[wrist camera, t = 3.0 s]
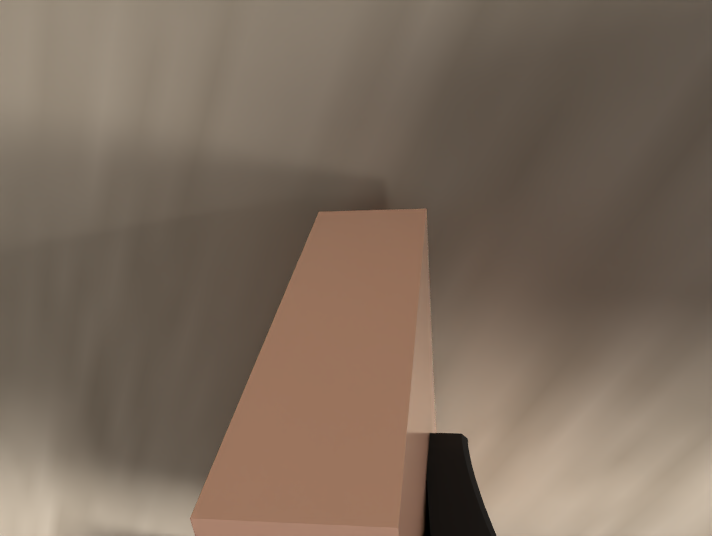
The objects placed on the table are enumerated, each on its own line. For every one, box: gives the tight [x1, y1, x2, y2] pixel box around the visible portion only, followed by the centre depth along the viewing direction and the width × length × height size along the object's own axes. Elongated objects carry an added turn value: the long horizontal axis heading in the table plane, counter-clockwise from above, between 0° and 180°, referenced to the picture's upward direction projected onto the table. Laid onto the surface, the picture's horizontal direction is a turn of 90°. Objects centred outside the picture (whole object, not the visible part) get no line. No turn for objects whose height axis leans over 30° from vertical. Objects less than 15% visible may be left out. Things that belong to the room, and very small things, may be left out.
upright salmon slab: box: [190, 209, 436, 536], centre depth 11 cm, size 2×9×7 cm, turn 5°
